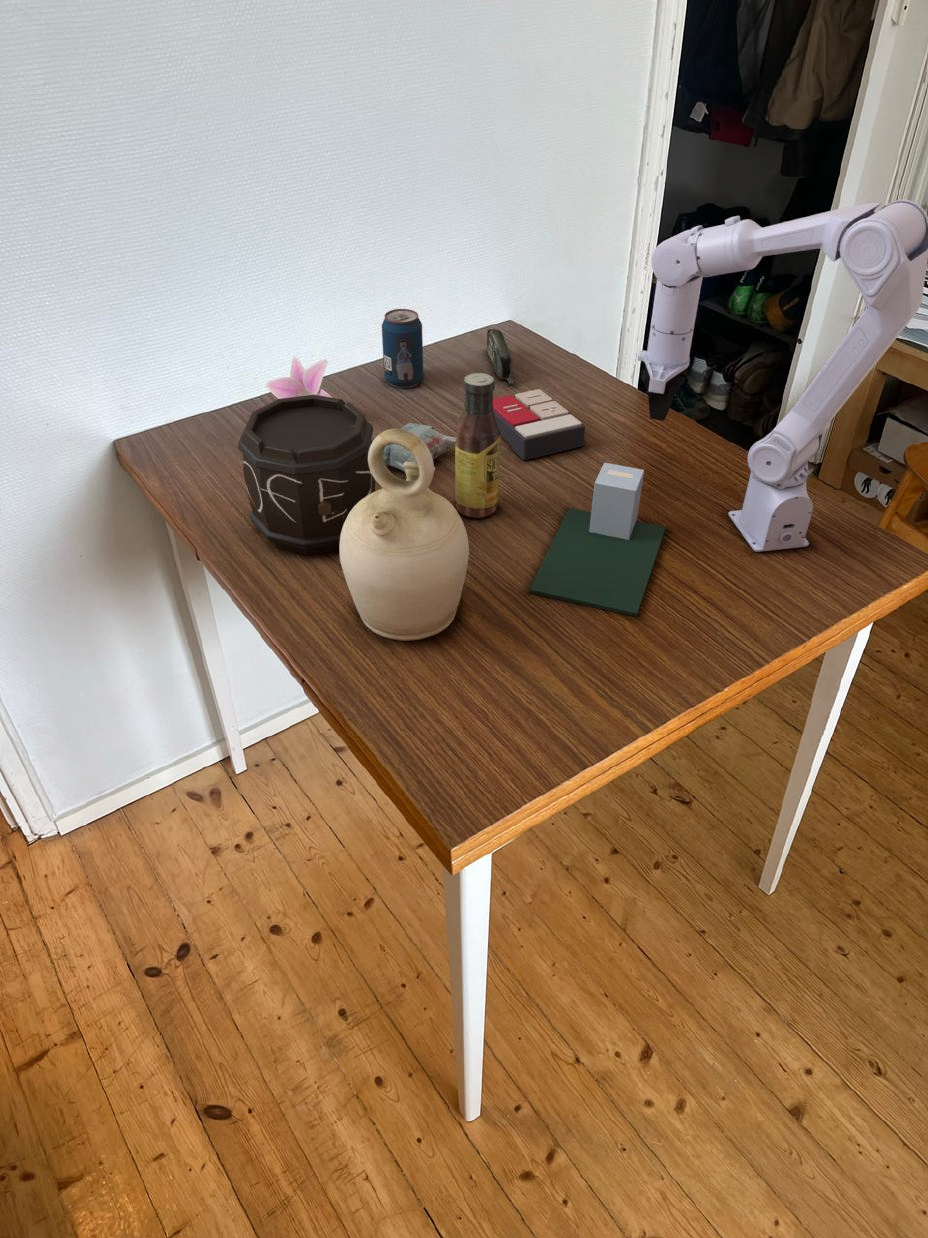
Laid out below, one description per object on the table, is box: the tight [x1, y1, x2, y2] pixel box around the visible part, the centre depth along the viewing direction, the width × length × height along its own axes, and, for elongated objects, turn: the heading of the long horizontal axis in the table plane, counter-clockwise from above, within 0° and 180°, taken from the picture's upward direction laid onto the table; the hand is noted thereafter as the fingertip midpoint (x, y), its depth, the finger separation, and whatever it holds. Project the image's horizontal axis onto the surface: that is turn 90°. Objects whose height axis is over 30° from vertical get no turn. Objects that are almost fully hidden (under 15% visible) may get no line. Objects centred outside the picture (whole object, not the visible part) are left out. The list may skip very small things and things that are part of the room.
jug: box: [339, 428, 470, 642], centre depth 108 cm, size 15×16×25 cm
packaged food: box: [383, 422, 456, 473], centre depth 141 cm, size 9×12×5 cm
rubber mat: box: [528, 507, 667, 617], centre depth 124 cm, size 20×14×1 cm
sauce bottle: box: [454, 372, 502, 519], centre depth 127 cm, size 6×6×20 cm
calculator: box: [493, 388, 586, 461], centre depth 149 cm, size 11×4×15 cm
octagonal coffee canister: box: [237, 395, 377, 556], centre depth 125 cm, size 18×18×16 cm
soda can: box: [381, 308, 424, 389], centre depth 160 cm, size 7×7×12 cm
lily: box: [265, 356, 333, 400], centre depth 152 cm, size 12×12×10 cm
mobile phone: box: [486, 328, 514, 386], centre depth 167 cm, size 5×3×15 cm
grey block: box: [589, 462, 645, 540], centre depth 127 cm, size 8×6×6 cm
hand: (657, 417), depth 133 cm, fingers closed
